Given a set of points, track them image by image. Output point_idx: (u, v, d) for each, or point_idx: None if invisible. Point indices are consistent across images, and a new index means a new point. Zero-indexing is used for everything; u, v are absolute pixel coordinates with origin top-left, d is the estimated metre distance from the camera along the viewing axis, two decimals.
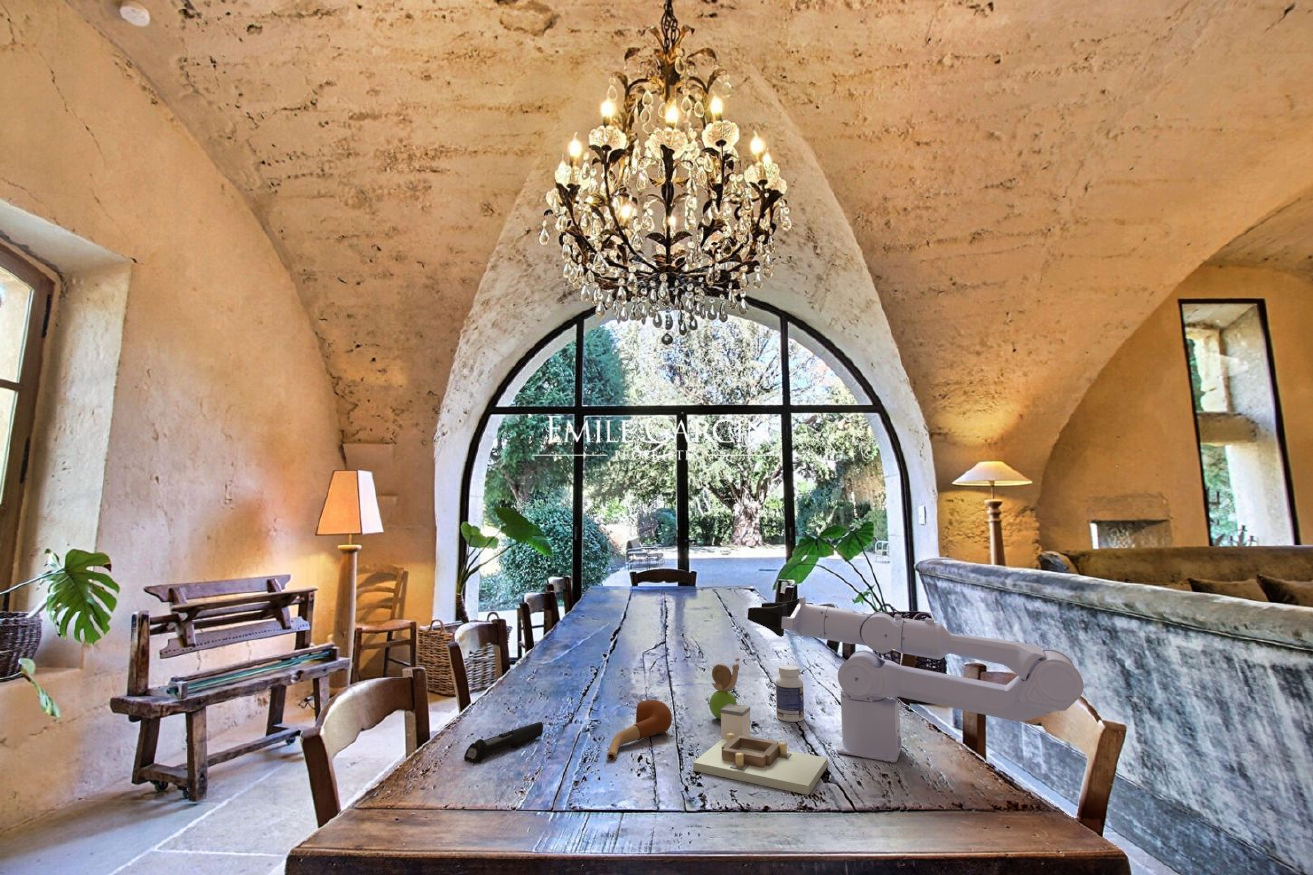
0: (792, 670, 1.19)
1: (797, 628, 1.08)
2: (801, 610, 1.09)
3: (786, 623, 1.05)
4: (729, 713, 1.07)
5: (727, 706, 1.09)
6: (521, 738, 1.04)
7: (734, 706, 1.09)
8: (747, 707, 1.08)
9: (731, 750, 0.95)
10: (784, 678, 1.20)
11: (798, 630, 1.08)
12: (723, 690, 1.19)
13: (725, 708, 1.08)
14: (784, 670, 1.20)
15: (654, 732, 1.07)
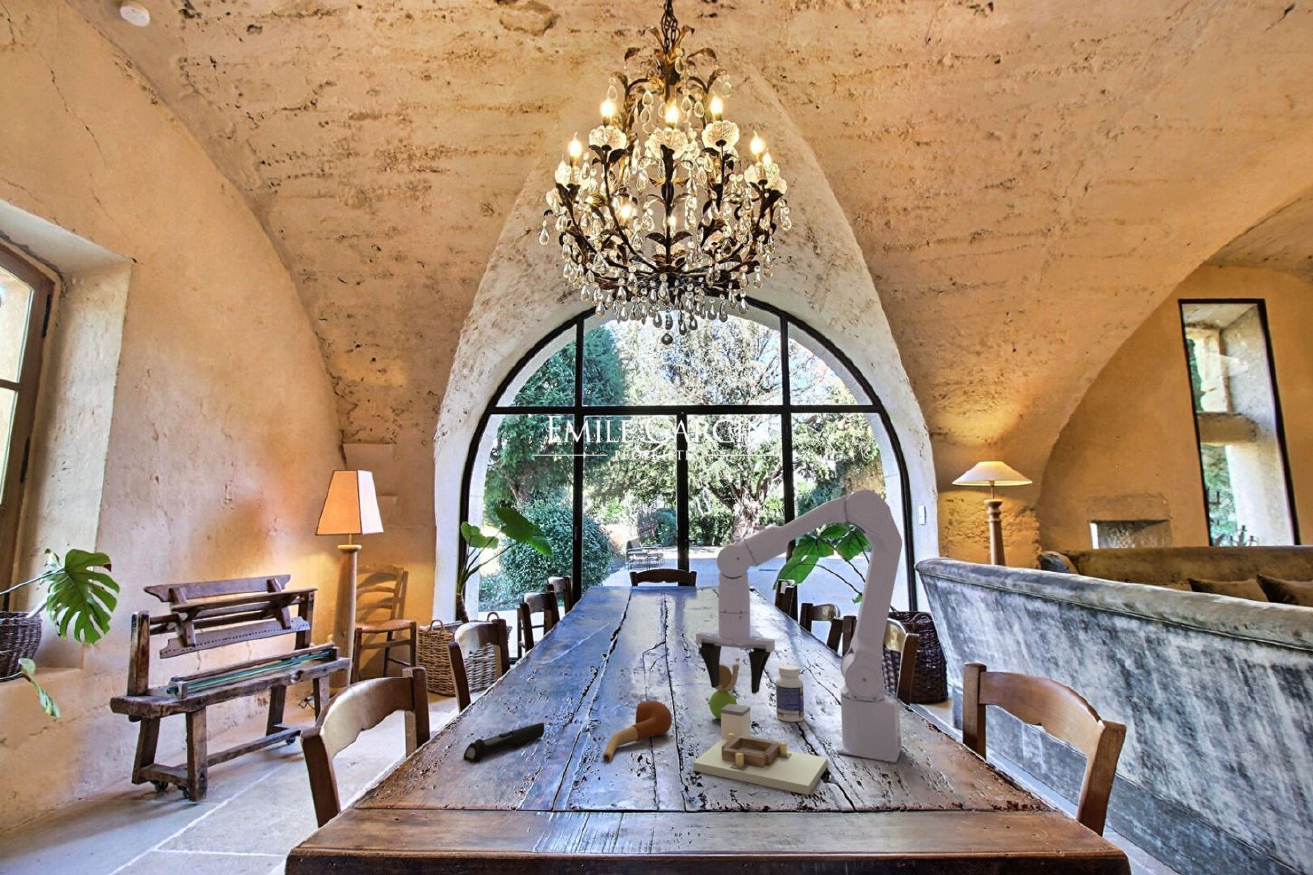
0: (792, 670, 1.19)
1: (751, 638, 1.10)
2: (742, 638, 1.07)
3: (773, 646, 1.06)
4: (730, 713, 1.07)
5: (727, 706, 1.09)
6: (521, 739, 1.04)
7: (734, 706, 1.09)
8: (747, 707, 1.08)
9: (731, 750, 0.95)
10: (784, 678, 1.20)
11: (750, 636, 1.10)
12: (723, 690, 1.19)
13: (725, 708, 1.08)
14: (784, 670, 1.20)
15: (653, 733, 1.06)
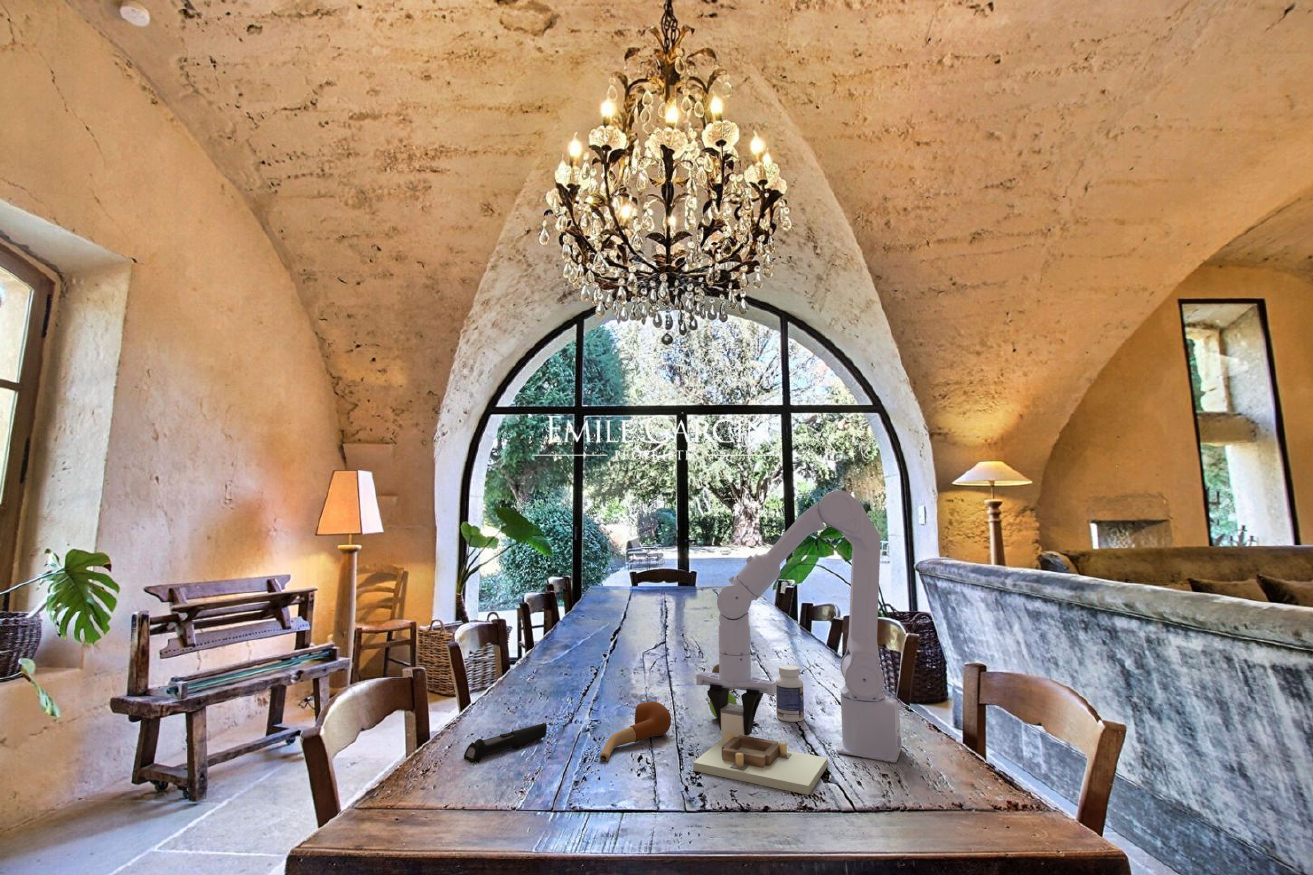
0: (792, 670, 1.19)
1: (752, 679, 1.09)
2: (743, 680, 1.06)
3: (774, 688, 1.05)
4: (730, 712, 1.07)
5: (727, 706, 1.09)
6: (522, 740, 1.04)
7: (734, 706, 1.09)
8: None
9: (731, 750, 0.95)
10: (784, 678, 1.20)
11: (751, 678, 1.09)
12: None
13: (725, 708, 1.08)
14: (784, 670, 1.20)
15: (651, 734, 1.06)
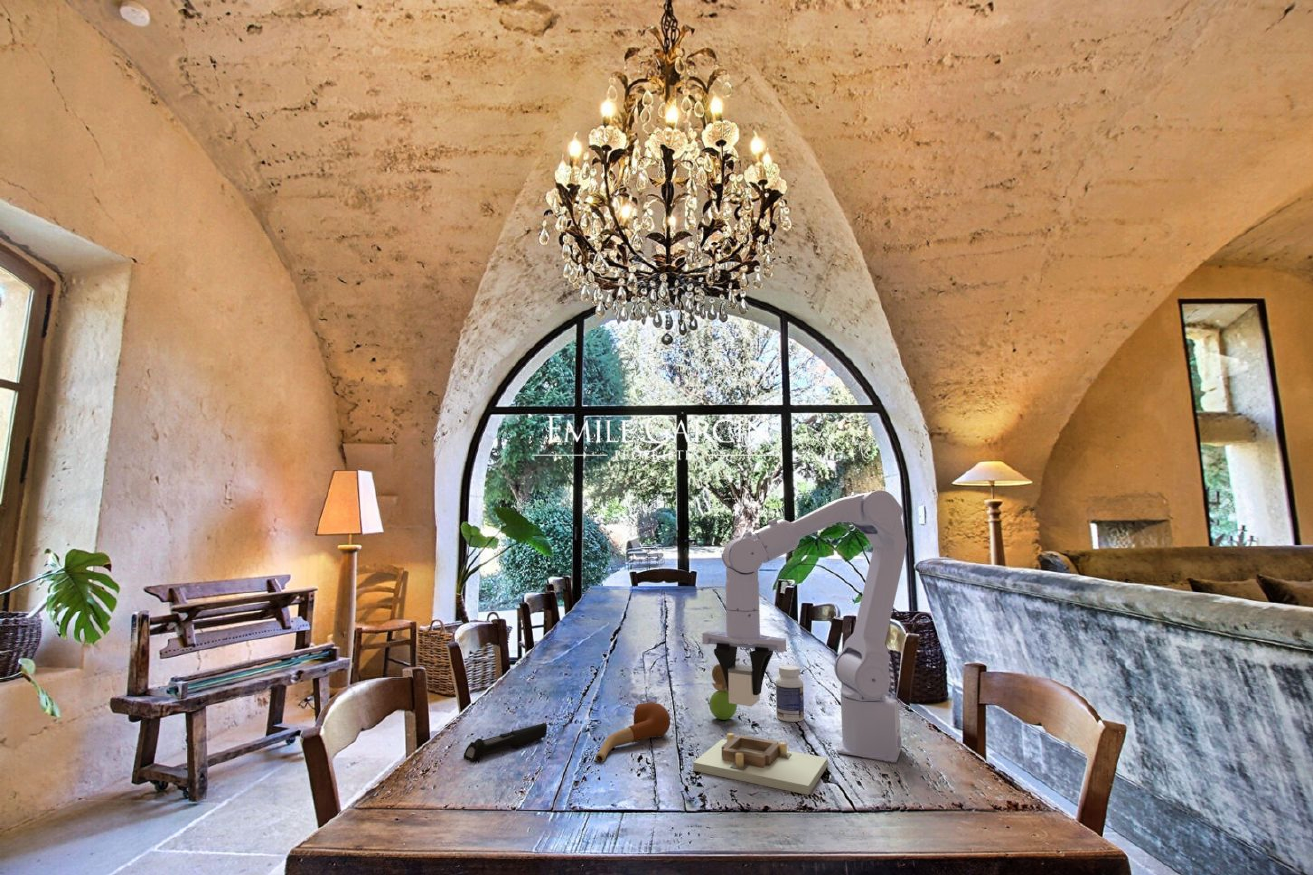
0: (792, 670, 1.19)
1: (761, 637, 1.03)
2: (751, 637, 1.01)
3: (784, 645, 1.00)
4: (738, 672, 1.01)
5: (735, 666, 1.04)
6: (522, 739, 1.04)
7: (742, 666, 1.04)
8: None
9: (731, 750, 0.95)
10: (784, 678, 1.20)
11: (760, 636, 1.04)
12: (723, 690, 1.19)
13: (733, 668, 1.03)
14: (784, 670, 1.20)
15: (649, 735, 1.06)
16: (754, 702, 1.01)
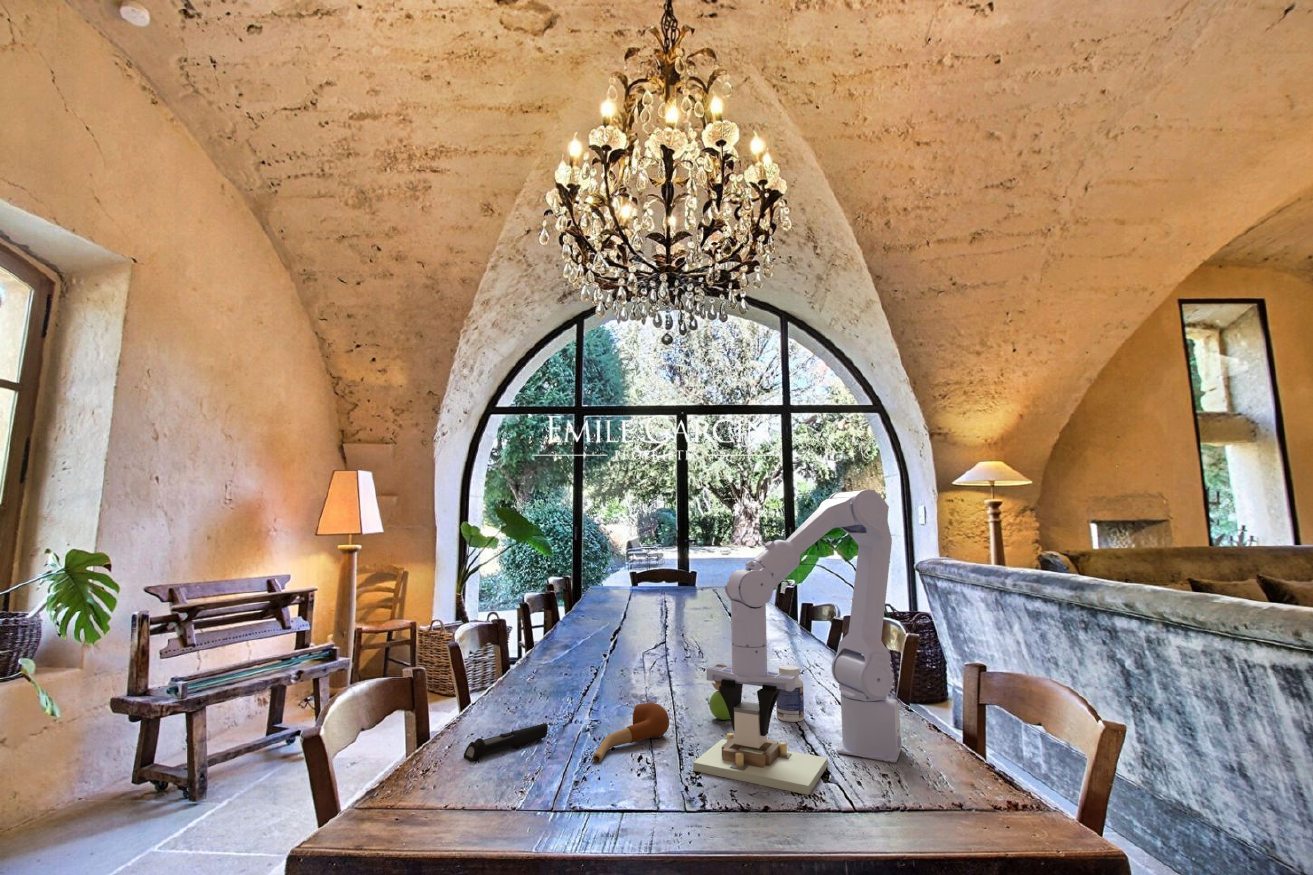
0: (792, 670, 1.19)
1: (768, 674, 0.99)
2: (758, 675, 0.96)
3: (793, 684, 0.95)
4: (744, 711, 0.96)
5: (741, 704, 0.99)
6: (523, 739, 1.04)
7: (749, 704, 0.99)
8: None
9: (731, 750, 0.95)
10: None
11: (767, 672, 0.99)
12: None
13: (739, 706, 0.98)
14: (784, 670, 1.20)
15: (648, 735, 1.05)
16: (761, 743, 0.96)
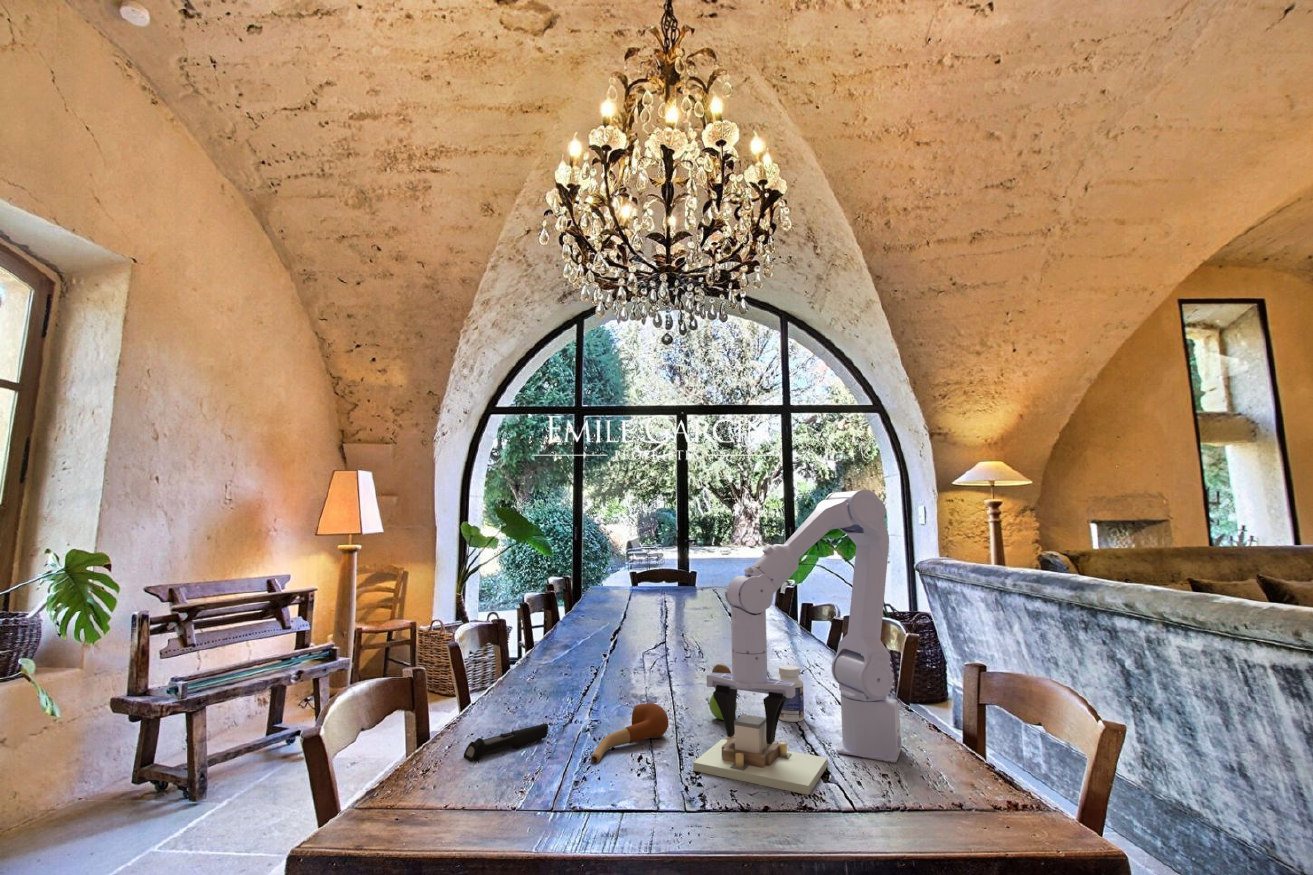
0: (792, 670, 1.19)
1: (768, 680, 0.98)
2: (759, 681, 0.96)
3: (793, 691, 0.95)
4: (744, 725, 0.96)
5: (741, 717, 0.99)
6: (523, 739, 1.04)
7: (749, 717, 0.99)
8: (763, 719, 0.98)
9: (731, 750, 0.95)
10: (784, 678, 1.20)
11: (767, 679, 0.99)
12: None
13: (739, 719, 0.97)
14: (784, 670, 1.20)
15: (646, 736, 1.05)
16: None
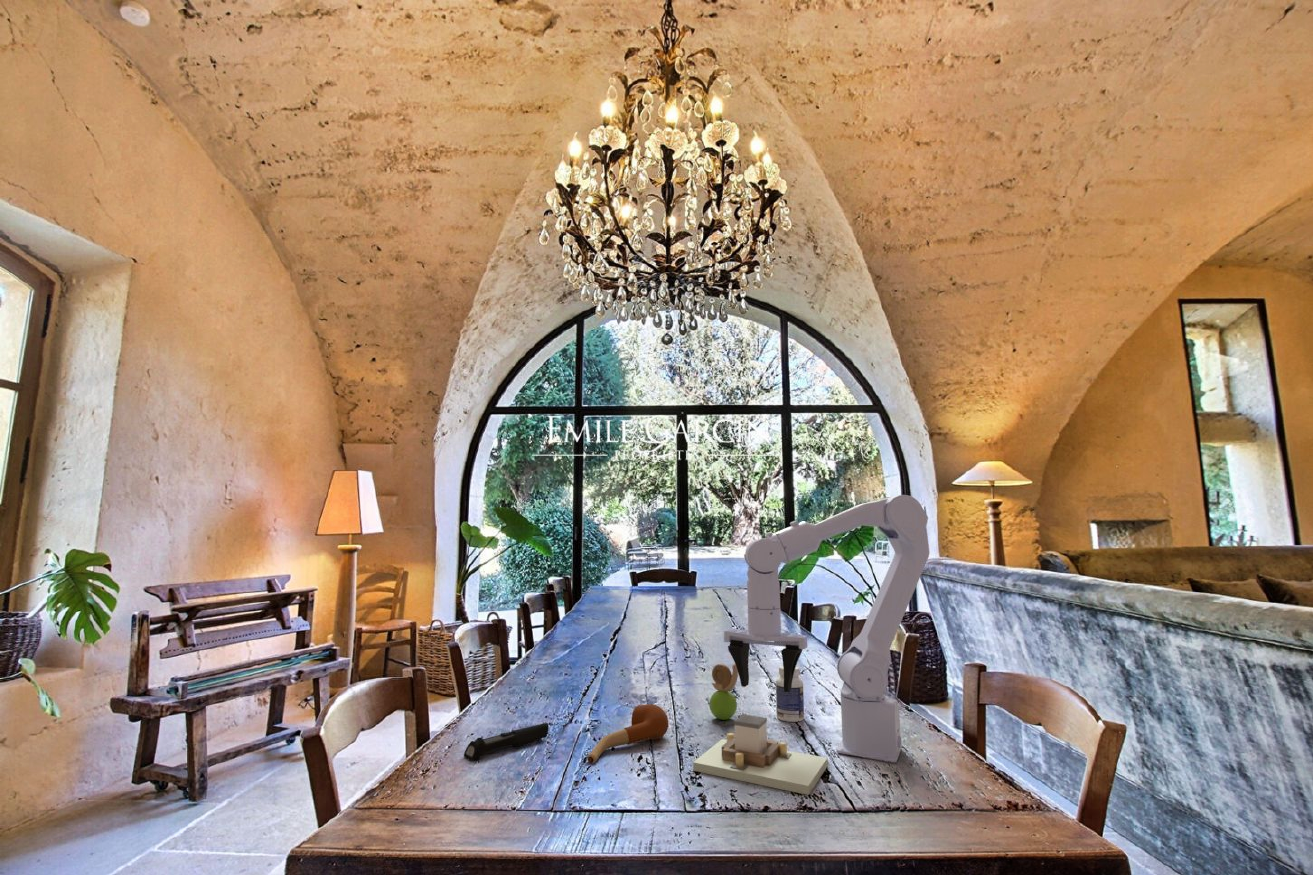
0: None
1: (782, 634, 1.06)
2: (773, 635, 1.04)
3: (805, 642, 1.03)
4: (744, 725, 0.96)
5: (741, 717, 0.99)
6: (523, 739, 1.04)
7: (749, 717, 0.99)
8: (763, 719, 0.98)
9: (731, 750, 0.95)
10: None
11: (781, 633, 1.07)
12: (723, 690, 1.19)
13: (739, 719, 0.97)
14: None
15: (645, 737, 1.05)
16: None
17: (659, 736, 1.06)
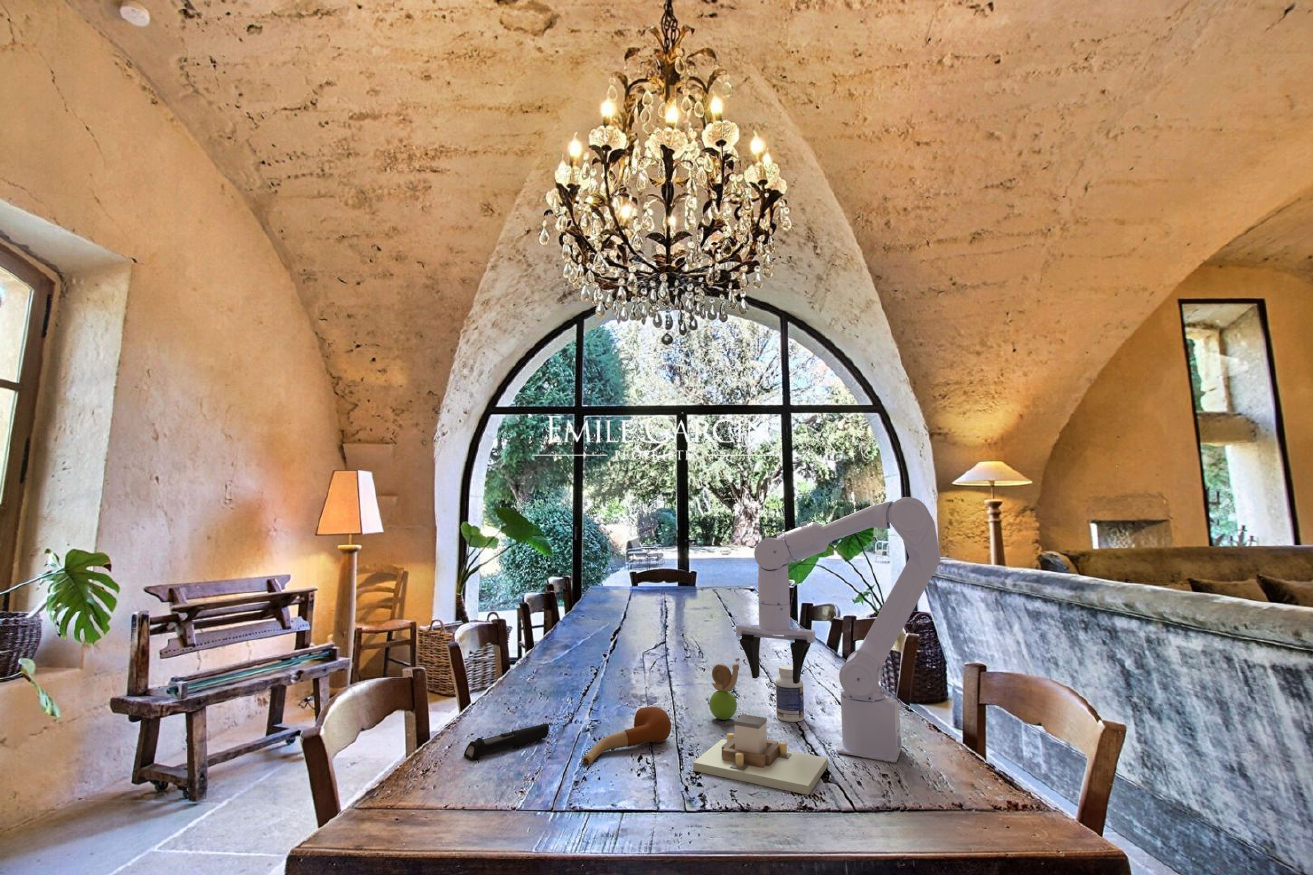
0: (792, 670, 1.19)
1: (791, 629, 1.12)
2: (783, 629, 1.09)
3: (814, 637, 1.08)
4: (744, 725, 0.96)
5: (741, 717, 0.99)
6: (523, 739, 1.04)
7: (749, 717, 0.99)
8: (763, 719, 0.98)
9: (731, 750, 0.95)
10: (784, 678, 1.20)
11: (790, 628, 1.12)
12: (723, 690, 1.19)
13: (739, 719, 0.97)
14: (784, 670, 1.20)
15: (645, 740, 1.03)
16: None
17: (660, 739, 1.04)
